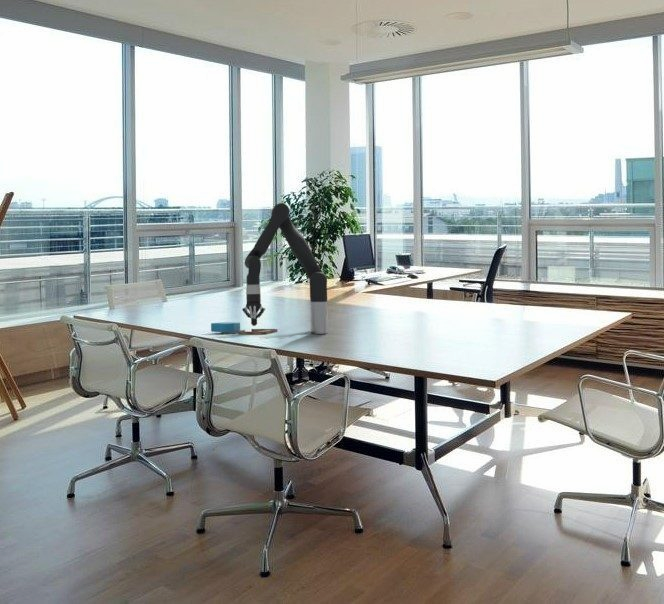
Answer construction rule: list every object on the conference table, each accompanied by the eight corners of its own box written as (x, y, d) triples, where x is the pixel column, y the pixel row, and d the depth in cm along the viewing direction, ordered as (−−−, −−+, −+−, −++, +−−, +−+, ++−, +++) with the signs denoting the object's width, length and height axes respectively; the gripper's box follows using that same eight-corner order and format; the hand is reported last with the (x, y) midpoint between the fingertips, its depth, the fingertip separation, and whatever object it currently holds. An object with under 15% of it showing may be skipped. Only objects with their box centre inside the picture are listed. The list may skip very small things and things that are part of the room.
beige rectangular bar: (275, 334, 396) (274, 330, 396) (260, 335, 389) (260, 331, 389) (271, 333, 398) (271, 330, 398) (257, 334, 391) (257, 331, 391)
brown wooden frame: (278, 331, 400) (277, 328, 400) (265, 334, 380) (265, 331, 380) (252, 331, 403) (252, 328, 403) (238, 334, 384) (238, 331, 384)
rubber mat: (245, 332, 401) (245, 330, 401) (235, 334, 388) (235, 332, 388) (231, 331, 403) (231, 330, 403) (221, 334, 390) (221, 332, 390)
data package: (227, 322, 403) (241, 322, 395) (227, 330, 403) (241, 331, 395) (209, 323, 394) (223, 323, 386) (209, 331, 395) (224, 332, 387)
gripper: (267, 292, 394) (268, 325, 394) (244, 293, 397) (245, 325, 398) (262, 293, 386) (263, 326, 387) (239, 293, 390) (240, 326, 390)
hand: (254, 325), depth 392 cm, fingers closed
